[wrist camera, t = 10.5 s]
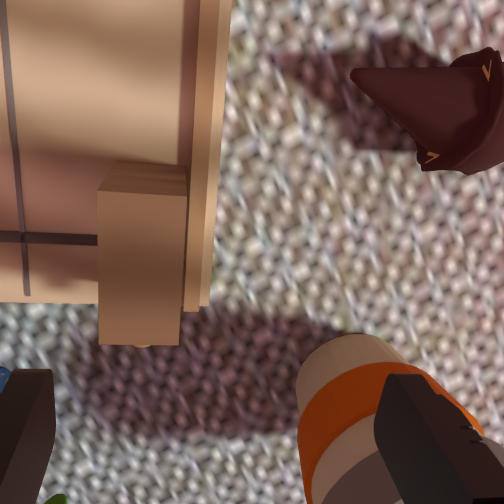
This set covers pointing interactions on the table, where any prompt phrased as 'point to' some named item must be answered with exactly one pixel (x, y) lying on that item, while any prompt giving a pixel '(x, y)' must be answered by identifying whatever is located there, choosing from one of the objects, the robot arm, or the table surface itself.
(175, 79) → the board
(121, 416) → the table surface
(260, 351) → the table surface
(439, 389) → the reusable coffee cup
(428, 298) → the table surface
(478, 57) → the icecream
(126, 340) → the block
